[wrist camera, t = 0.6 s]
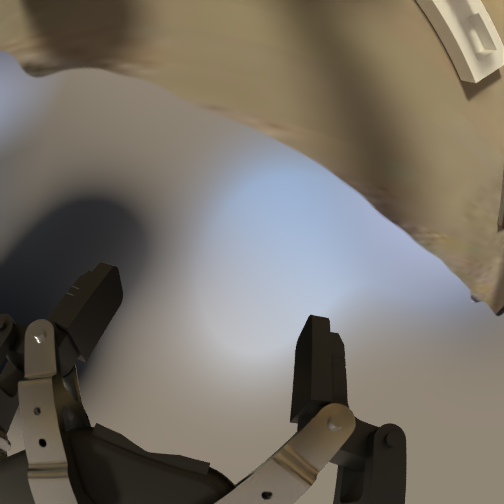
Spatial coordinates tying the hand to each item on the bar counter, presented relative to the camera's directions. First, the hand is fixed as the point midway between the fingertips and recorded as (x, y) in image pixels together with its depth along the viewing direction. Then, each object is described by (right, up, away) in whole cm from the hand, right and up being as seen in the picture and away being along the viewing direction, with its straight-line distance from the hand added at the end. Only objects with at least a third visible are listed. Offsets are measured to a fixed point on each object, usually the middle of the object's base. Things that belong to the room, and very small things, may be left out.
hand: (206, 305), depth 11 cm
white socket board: (+25, +33, +4) cm, 41 cm away
